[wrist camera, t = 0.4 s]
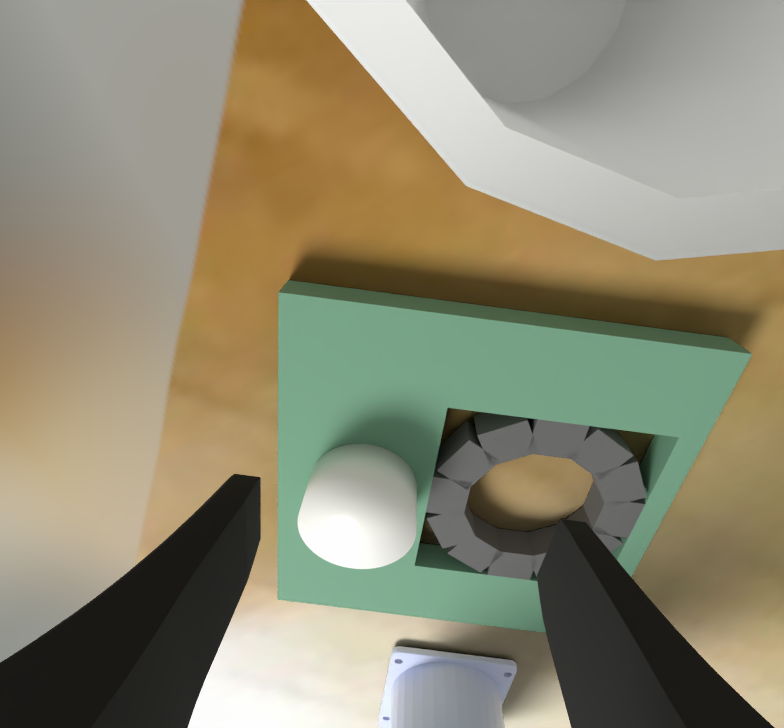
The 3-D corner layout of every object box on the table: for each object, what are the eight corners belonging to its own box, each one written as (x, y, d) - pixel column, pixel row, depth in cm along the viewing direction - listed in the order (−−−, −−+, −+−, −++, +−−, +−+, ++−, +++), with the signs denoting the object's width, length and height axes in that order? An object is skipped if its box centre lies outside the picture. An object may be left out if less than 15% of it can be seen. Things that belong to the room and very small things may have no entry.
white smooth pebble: (409, 531, 23) (407, 575, 21) (308, 518, 23) (296, 561, 20) (424, 451, 20) (425, 491, 18) (311, 436, 20) (298, 475, 18)
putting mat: (588, 614, 27) (597, 639, 26) (284, 575, 27) (277, 599, 26) (728, 337, 19) (752, 354, 17) (288, 280, 19) (278, 292, 17)
